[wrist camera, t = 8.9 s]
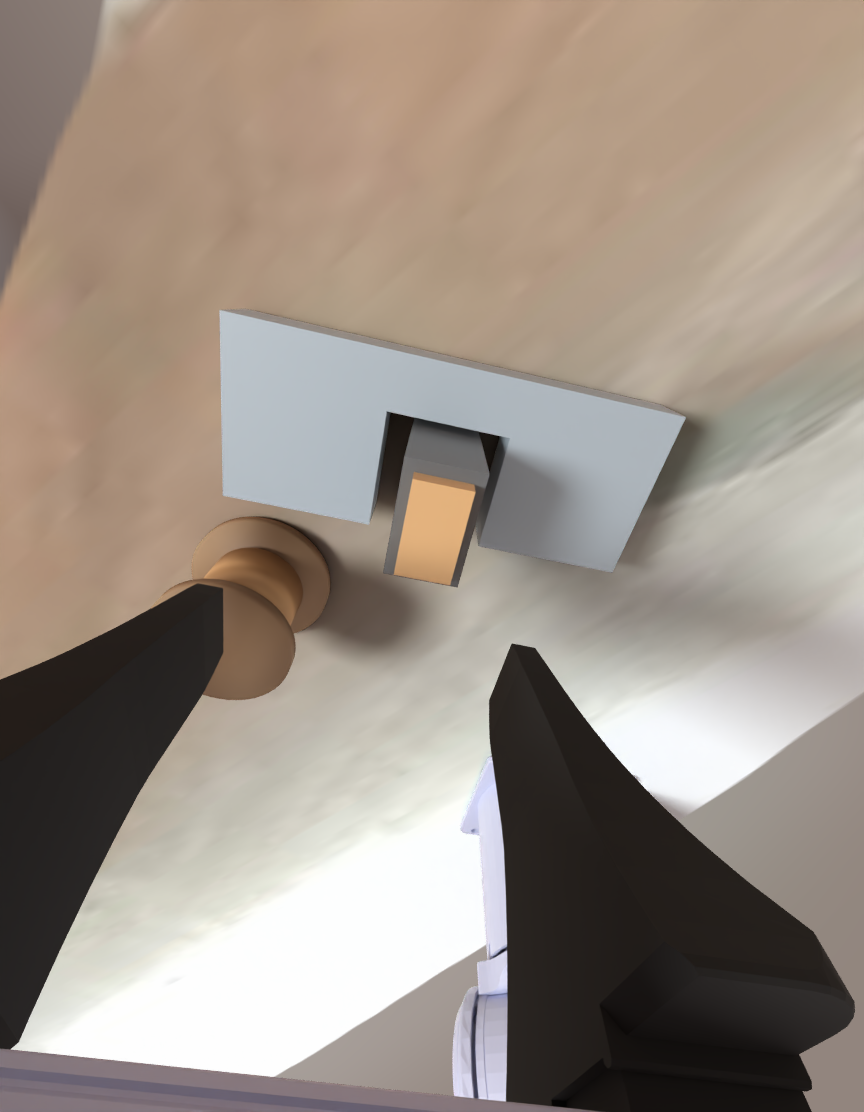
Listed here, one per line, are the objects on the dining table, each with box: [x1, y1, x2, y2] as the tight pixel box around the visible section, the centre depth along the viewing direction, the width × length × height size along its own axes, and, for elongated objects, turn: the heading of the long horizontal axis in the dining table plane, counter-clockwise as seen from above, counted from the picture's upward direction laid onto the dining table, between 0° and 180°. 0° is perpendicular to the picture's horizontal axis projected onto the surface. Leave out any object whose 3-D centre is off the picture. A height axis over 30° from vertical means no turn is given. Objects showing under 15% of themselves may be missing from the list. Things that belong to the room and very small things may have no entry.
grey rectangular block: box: [383, 418, 489, 587], centre depth 16 cm, size 2×4×7 cm, turn 168°
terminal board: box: [220, 309, 686, 573], centre depth 18 cm, size 16×6×2 cm, turn 78°
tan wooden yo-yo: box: [150, 517, 331, 700], centre depth 20 cm, size 6×6×5 cm
